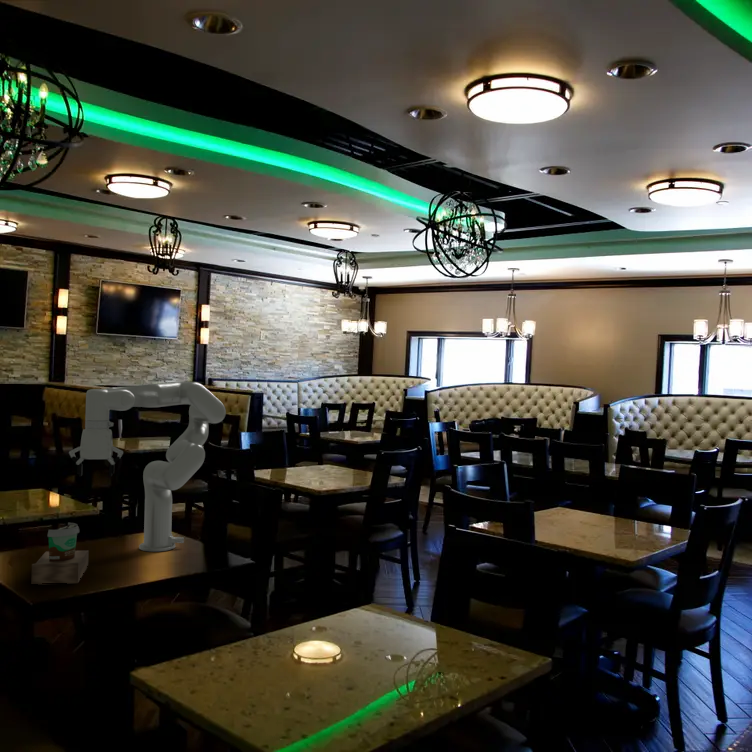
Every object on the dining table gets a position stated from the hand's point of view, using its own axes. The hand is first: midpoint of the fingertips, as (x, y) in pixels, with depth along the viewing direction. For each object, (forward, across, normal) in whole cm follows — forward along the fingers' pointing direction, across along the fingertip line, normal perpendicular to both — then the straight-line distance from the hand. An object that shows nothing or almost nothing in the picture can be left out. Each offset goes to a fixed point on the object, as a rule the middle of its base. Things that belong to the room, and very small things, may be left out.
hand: (95, 476), depth 247 cm
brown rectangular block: (+28, +7, +18) cm, 34 cm away
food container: (+24, +6, +18) cm, 30 cm away
